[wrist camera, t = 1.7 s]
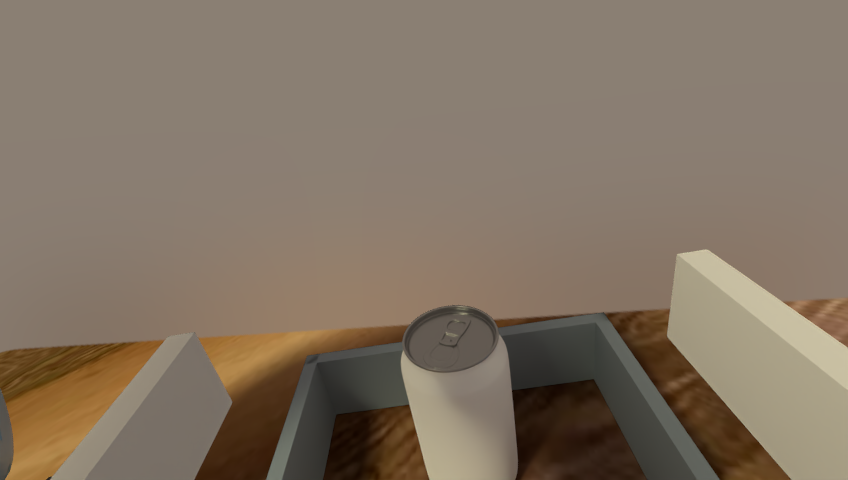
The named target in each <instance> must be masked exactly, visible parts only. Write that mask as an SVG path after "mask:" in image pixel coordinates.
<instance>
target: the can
mask: <svg viewBox="0 0 848 480" xmlns="http://www.w3.org/2000/svg"><path fill="white" fill-rule="evenodd" d="M402 346H403V352H402V357H401V371H402V376H403V380H404V384H405V388H406V392H407V396H408V400H409V404H410V408H411V412H412V416H413V420H414V424H415V428H416V432H417V435H418V439H419V443H420V447H421V451H422V455H423V458H424V462H425V466H426V470H427V473H428V476H429V479H430V480H515V479H516V476H517V470H518V455H517V443H516V431H515V420H514V409H513V398H512V388H511V377H510V367H509V359H508V352H507V348H506V345H505V343H504V341H503V339H502V337H501V336H500V335H499V331H498V327H497V325H496V323H495V321H494V320H493V319H492V318H491V317H490V316H489V315H488V314H486V313H485V312H483V311H481V310H479V309H476V308H473V307H469V306H461V305H452V306H444V307H439V308H436V309H433V310H430V311H428V312H426V313H424V314H422V315H420V316H419V317H417V318H416V319H415V320H414V321H413V322H412V323H411V324H410V325H409V326H408V328H407V329H406V331H405V333H404V336H403V340H402Z"/></svg>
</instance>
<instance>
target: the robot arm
mask: <svg viewBox="0 0 848 480" xmlns="http://www.w3.org/2000/svg"><path fill="white" fill-rule="evenodd" d="M667 337H668V338H669V339H670V341H671V342H672V343H673V344H674V345H675V346H676V347H677V349H678V350H679V351H680V352H681V353H682V354H683V355H684V357H685V358H686V359H687V360H688V361H689V362H690V364H691V365H692V366H693V367H694V368H695V369H696V370H697V372H698V373H699V374H700V375H701V376H702V377H703V378H704V380H705V381H706V382H707V383H708V384H709V385H710V387H711V388H712V389H713V390H714V391H715V392H716V393H717V395H718V396H719V397H720V398H721V399H722V400H723V401H724V403H725V404H726V405H727V406H728V407H729V408H730V410H731V411H732V412H733V413H734V414H735V415H736V416H737V418H738V419H739V420H740V421H741V422H742V423H743V424H744V426H745V427H746V428H747V429H748V430H749V431H750V433H751V434H752V435H753V436H754V437H755V438H756V439H757V441H758V442H759V443H760V444H761V445H762V446H763V447H764V449H765V450H766V451H767V452H768V453H769V454H770V456H771V457H772V458H773V459H774V460H775V461H776V462H777V464H778V465H779V466H780V467H781V468H782V469H783V470H784V472H785V473H786V474H787V475H788V476H789V477H790V479H791V480H848V348H847V347H846V346H844V345H843V344H842V343H840V342H839V341H837V340H836V339H834V338H833V337H832V336H830V335H829V334H827V333H826V332H824V331H823V330H822V329H820V328H819V327H817V326H816V325H814V324H813V323H812V322H810V321H809V320H807V319H806V318H804V317H803V316H802V315H800V314H799V313H797V312H796V311H794V310H793V309H792V308H790V307H789V306H787V305H786V304H784V303H783V302H782V301H780V300H779V299H777V298H776V297H774V296H773V295H771V294H770V293H769V292H767V291H766V290H764V289H763V288H761V287H760V286H759V285H757V284H756V283H754V282H753V281H751V280H750V279H749V278H747V277H746V276H744V275H743V274H742V273H740V272H738V271H737V270H736V269H734V268H733V267H732V266H730V265H729V264H727V263H726V262H724V261H723V260H722V259H720V258H719V257H717V256H716V255H714V254H713V253H712V252H710V251H709V250H700V251H694V252H688V253H681V254H677V260H676V267H675V275H674V283H673V292H672V299H671V307H670V316H669V324H668V332H667ZM232 403H233V402H232V400H231V398H230V396H229V395H228V393H227V391H226V389H225V387H224V385H223V383H222V382H221V380H220V378H219V376H218V374H217V372H216V370H215V369H214V367H213V365H212V363H211V361H210V359H209V358H208V356H207V354H206V352H205V350H204V348H203V346H202V345H201V343H200V341H199V339H198V337H197V335H196V334H195V332H192V333H186V334H180V335H174V336H168V337H167V339H166V340H165V341H164V342H163V343H162V345H161V346H160V347H159V348H158V349H157V351H156V352H155V353H154V354H153V355H152V357H151V358H150V359H149V360H148V362H147V363H146V364H145V365H144V366H143V368H142V369H141V370H140V371H139V372H138V374H137V375H136V376H135V377H134V379H133V380H132V381H131V382H130V383H129V385H128V386H127V387H126V388H125V389H124V391H123V392H122V393H121V394H120V395H119V397H118V398H117V399H116V400H115V402H114V403H113V404H112V405H111V406H110V408H109V409H108V410H107V411H106V412H105V414H104V415H103V416H102V417H101V418H100V420H99V421H98V422H97V423H96V425H95V426H94V427H93V428H92V429H91V431H90V432H89V433H88V434H87V435H86V437H85V438H84V439H83V440H82V441H81V443H80V444H79V445H78V446H77V448H76V449H75V450H74V451H73V452H72V454H71V455H70V456H69V457H68V458H67V460H66V461H65V462H64V463H63V464H62V466H61V467H60V468H59V469H58V471H57V472H56V473H55V474H54V475H53V477H49V478H48V479H46V480H194V479H195V477H196V475H197V473H198V471H199V469H200V467H201V465H202V463H203V461H204V459H205V457H206V455H207V453H208V451H209V449H210V447H211V445H212V443H213V441H214V439H215V437H216V435H217V433H218V431H219V429H220V427H221V425H222V423H223V421H224V419H225V417H226V415H227V413H228V411H229V409H230V407H231V405H232ZM12 461H13V433H12V427H11V422H10V418H9V414H8V410H7V407H6V403H5V400H4V398H3V395H2V392H1V389H0V480H5V478H6V477H7V475H8V473H9V472H10V469H11V465H12Z"/></svg>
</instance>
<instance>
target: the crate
mask: <svg viewBox="0 0 848 480" xmlns="http://www.w3.org/2000/svg"><path fill="white" fill-rule="evenodd" d="M498 331H499V335H500V336H501V337H502V339H503V341H504V343H505V345H506V348H507V352H508V359H509V367H510V377H511V388H512V390H518V389H526V388H533V387H540V386H547V385H555V384H562V383H569V382H576V381H584V380H591V379H594V380H595V382H596V384H597V386H598V388H599V390H600V392H601V393H602V395H603V397H604V399H605V401H606V403H607V405H608V407H609V409H610V410H611V412H612V414H613V416H614V418H615V420H616V422H617V424H618V426H619V427H620V429H621V431H622V433H623V435H624V437H625V439H626V441H627V443H628V444H629V446H630V448H631V450H632V452H633V454H634V456H635V458H636V459H637V461H638V463H639V465H640V467H641V469H642V471H643V473H644V475H645V476H646V478H647V480H719V478H718V477H717V475H716V474H715V472H714V471H713V469H712V468H711V467H710V465H709V464H708V462H707V461H706V459H705V458H704V456H703V455H702V454H701V452H700V451H699V449H698V448H697V446H696V445H695V443H694V442H693V441H692V439H691V438H690V436H689V435H688V433H687V432H686V430H685V429H684V428H683V426H682V425H681V423H680V422H679V420H678V419H677V418H676V416H675V415H674V413H673V412H672V410H671V409H670V407H669V406H668V405H667V403H666V402H665V400H664V399H663V397H662V396H661V394H660V393H659V392H658V390H657V389H656V387H655V386H654V384H653V383H652V381H651V380H650V379H649V377H648V376H647V374H646V373H645V371H644V370H643V368H642V367H641V366H640V364H639V363H638V361H637V360H636V358H635V357H634V356H633V354H632V353H631V351H630V350H629V348H628V347H627V345H626V344H625V343H624V341H623V340H622V338H621V337H620V335H619V334H618V332H617V331H616V330H615V328H614V327H613V325H612V324H611V322H610V321H609V319H608V318H607V317H606V315H605V314H604V312H603V313H596V314H590V315H583V316H576V317H569V318H562V319H555V320H548V321H542V322H535V323H528V324H521V325H514V326H507V327H500V328H498ZM402 352H403V346H402V342H398V343H391V344H384V345H377V346H370V347H363V348H357V349H350V350H343V351H336V352H329V353H322V354H315V355H309V356H307V358H306V361H305V364H304V367H303V370H302V373H301V376H300V379H299V382H298V385H297V388H296V391H295V394H294V397H293V400H292V403H291V406H290V409H289V412H288V415H287V418H286V421H285V424H284V427H283V430H282V433H281V436H280V439H279V442H278V445H277V448H276V451H275V454H274V457H273V460H272V463H271V466H270V469H269V472H268V475H267V478H266V480H323V477H324V472H325V467H326V462H327V457H328V453H329V448H330V443H331V438H332V433H333V428H334V423H335V418H336V415H337V414H344V413H351V412H358V411H366V410H373V409H380V408H387V407H395V406H402V405H409V400H408V396H407V392H406V388H405V384H404V380H403V376H402V371H401V357H402Z"/></svg>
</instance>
